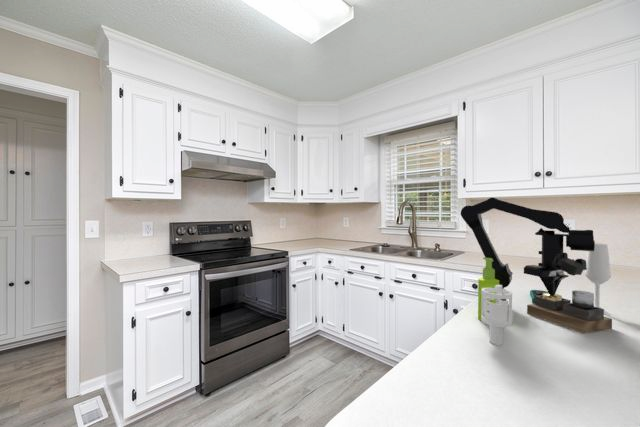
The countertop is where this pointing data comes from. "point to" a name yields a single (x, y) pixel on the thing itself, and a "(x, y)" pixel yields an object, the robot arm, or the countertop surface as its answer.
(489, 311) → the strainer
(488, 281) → the soap dispenser
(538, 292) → the digital multimeter
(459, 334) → the countertop surface
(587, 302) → the steel knob
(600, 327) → the knob console
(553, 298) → the brass knob
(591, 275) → the champagne flute
